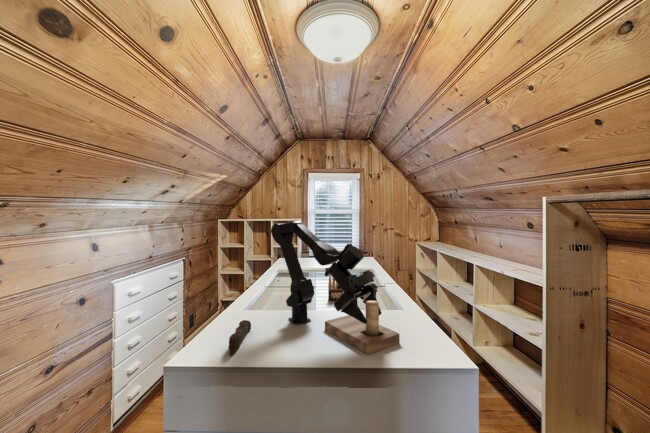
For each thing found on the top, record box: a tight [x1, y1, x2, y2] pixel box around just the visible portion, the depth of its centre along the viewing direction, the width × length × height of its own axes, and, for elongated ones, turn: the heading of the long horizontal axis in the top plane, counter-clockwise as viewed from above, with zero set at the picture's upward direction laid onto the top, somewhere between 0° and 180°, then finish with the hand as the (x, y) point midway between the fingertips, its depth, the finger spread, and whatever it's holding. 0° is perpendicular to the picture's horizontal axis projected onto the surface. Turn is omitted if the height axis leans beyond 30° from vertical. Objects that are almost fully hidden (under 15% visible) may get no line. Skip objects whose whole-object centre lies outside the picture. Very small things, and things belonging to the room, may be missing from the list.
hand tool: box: [228, 319, 252, 357], centre depth 88 cm, size 19×4×5 cm, turn 1°
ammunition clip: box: [327, 275, 344, 302], centre depth 132 cm, size 11×2×12 cm, turn 89°
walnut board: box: [324, 314, 400, 356], centre depth 91 cm, size 22×13×3 cm, turn 34°
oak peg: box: [365, 300, 380, 338], centre depth 86 cm, size 4×4×12 cm
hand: (373, 318), depth 86 cm, fingers open, 9 cm apart
